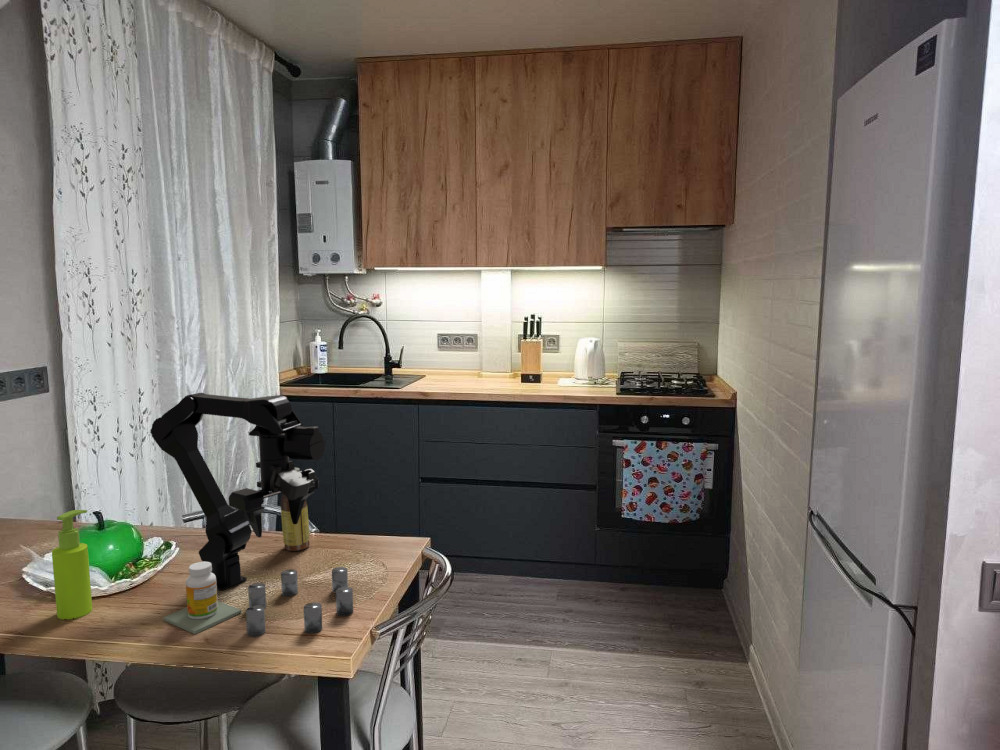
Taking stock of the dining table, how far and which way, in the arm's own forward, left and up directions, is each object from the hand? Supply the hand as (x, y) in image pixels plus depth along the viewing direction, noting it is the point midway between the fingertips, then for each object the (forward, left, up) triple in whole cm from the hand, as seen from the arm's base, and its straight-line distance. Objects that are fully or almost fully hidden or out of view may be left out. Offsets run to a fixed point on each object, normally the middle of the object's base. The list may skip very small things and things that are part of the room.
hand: (277, 530), depth 141 cm
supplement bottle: (-3, -16, -13) cm, 21 cm away
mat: (-3, -16, -13) cm, 21 cm away
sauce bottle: (-16, +18, -13) cm, 27 cm away
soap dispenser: (-26, -28, -13) cm, 40 cm away
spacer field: (+11, -4, -13) cm, 17 cm away
